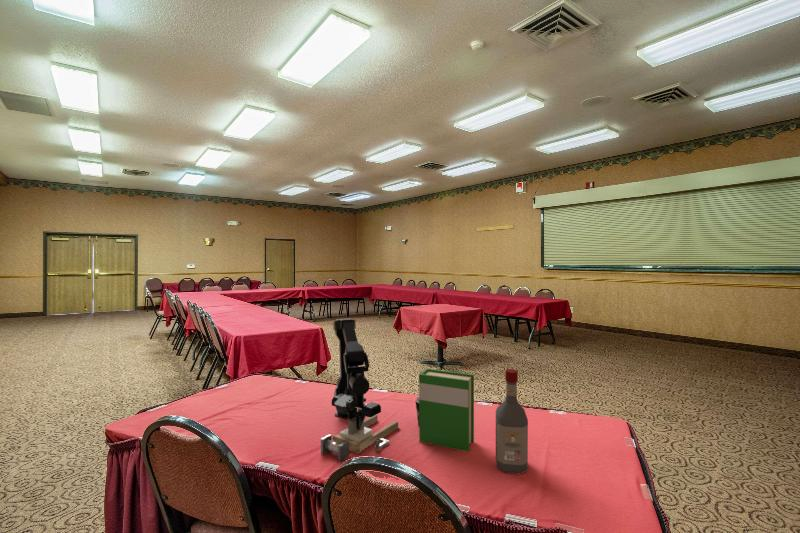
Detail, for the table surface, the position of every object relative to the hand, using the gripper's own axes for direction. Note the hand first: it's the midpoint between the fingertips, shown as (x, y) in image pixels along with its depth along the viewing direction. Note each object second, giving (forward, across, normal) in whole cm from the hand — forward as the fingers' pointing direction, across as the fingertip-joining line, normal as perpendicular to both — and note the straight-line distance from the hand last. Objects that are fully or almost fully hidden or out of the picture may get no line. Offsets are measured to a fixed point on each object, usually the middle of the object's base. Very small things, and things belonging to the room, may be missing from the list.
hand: (356, 428), depth 138 cm
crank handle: (+5, +8, +3) cm, 10 cm away
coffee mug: (+5, +13, +26) cm, 30 cm away
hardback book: (+5, +26, +18) cm, 32 cm away
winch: (+5, 0, -11) cm, 12 cm away
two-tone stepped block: (+5, 0, 0) cm, 5 cm away
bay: (+5, 0, +6) cm, 8 cm away
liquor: (+5, +50, +16) cm, 53 cm away
